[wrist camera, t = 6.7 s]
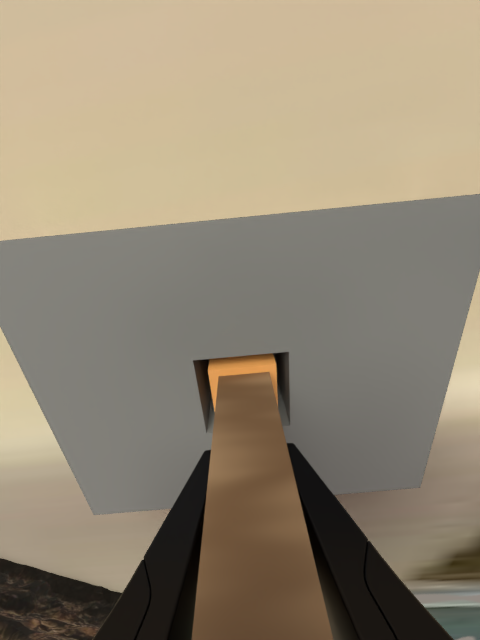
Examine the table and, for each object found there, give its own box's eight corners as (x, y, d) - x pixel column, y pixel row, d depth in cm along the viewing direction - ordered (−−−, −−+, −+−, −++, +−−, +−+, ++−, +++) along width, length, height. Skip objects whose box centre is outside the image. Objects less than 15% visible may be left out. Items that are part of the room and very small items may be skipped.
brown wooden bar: (269, 371, 11) (427, 1030, 2) (271, 411, 12) (388, 1000, 3) (218, 376, 11) (150, 1045, 2) (224, 415, 12) (193, 1011, 3)
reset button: (265, 329, 15) (276, 364, 11) (268, 373, 16) (278, 417, 12) (214, 334, 15) (207, 370, 11) (220, 377, 16) (216, 423, 12)
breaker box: (414, 202, 13) (500, 191, 9) (378, 429, 19) (420, 487, 15) (46, 238, 13) (-41, 244, 9) (124, 451, 19) (93, 515, 15)
